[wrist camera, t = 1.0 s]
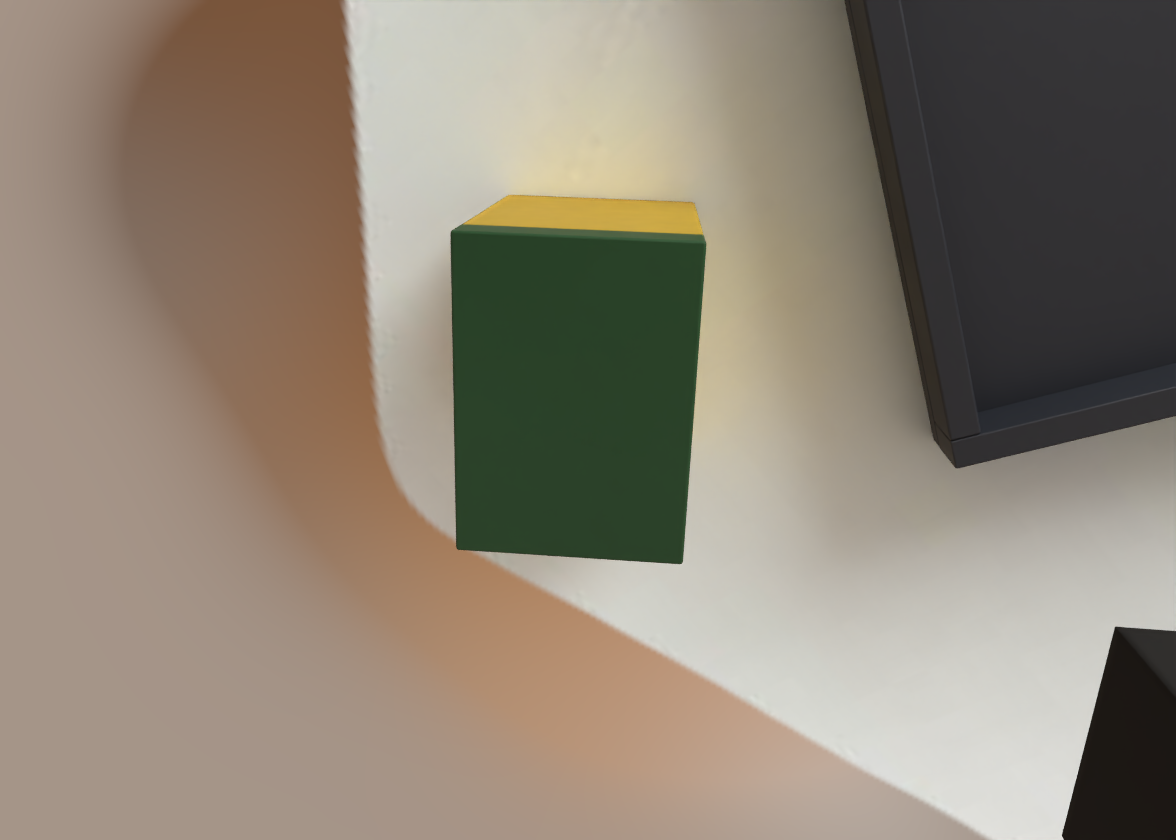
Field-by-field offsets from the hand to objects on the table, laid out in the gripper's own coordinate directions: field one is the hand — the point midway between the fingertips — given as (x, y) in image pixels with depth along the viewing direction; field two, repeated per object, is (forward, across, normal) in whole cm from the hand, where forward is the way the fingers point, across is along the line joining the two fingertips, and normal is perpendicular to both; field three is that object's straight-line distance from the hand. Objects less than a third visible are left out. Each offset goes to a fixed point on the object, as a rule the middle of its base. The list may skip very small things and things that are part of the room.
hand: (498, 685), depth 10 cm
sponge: (+16, 0, 0) cm, 16 cm away
